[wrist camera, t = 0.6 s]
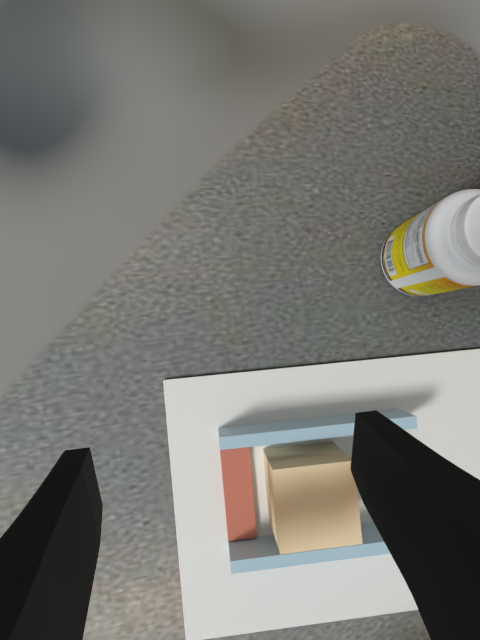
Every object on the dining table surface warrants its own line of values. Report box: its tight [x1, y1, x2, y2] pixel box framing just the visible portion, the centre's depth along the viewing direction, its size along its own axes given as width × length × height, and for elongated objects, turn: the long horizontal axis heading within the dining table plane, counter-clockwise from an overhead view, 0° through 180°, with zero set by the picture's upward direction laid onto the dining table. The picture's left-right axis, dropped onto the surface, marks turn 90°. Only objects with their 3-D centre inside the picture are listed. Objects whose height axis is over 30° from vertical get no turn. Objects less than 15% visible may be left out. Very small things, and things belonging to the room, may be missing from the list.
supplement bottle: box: [381, 189, 480, 296], centre depth 29 cm, size 6×6×10 cm
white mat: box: [163, 349, 480, 640], centre depth 33 cm, size 18×24×1 cm
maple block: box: [263, 441, 363, 554], centre depth 30 cm, size 5×5×5 cm
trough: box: [218, 409, 418, 574], centre depth 31 cm, size 9×13×3 cm, turn 95°
